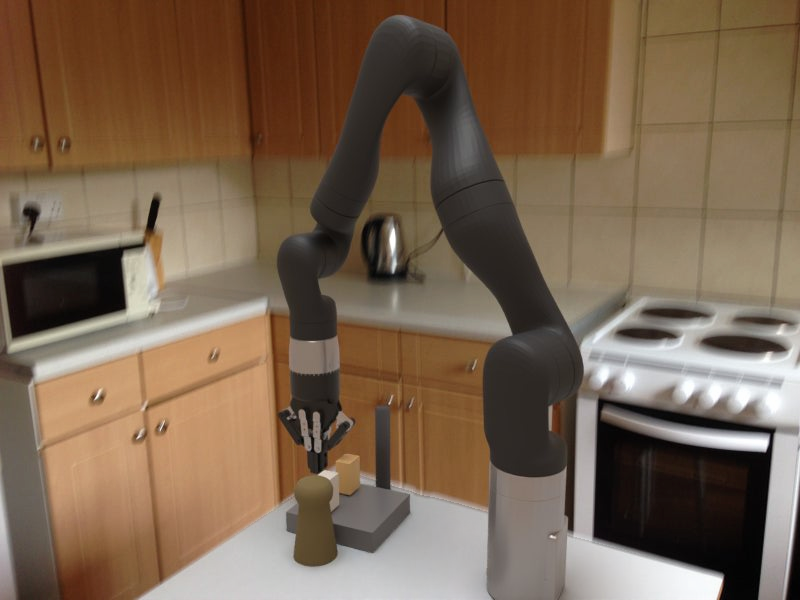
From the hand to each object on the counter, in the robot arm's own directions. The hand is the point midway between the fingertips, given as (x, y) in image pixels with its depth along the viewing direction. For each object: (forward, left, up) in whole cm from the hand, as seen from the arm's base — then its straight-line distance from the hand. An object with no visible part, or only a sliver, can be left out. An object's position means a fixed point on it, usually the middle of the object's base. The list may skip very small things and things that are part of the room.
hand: (317, 471), depth 113 cm
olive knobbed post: (-7, +13, -5) cm, 16 cm away
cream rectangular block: (-5, +6, -2) cm, 9 cm away
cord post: (-7, -8, -5) cm, 12 cm away
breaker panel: (-7, +3, -5) cm, 9 cm away
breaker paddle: (-5, 0, -2) cm, 6 cm away
